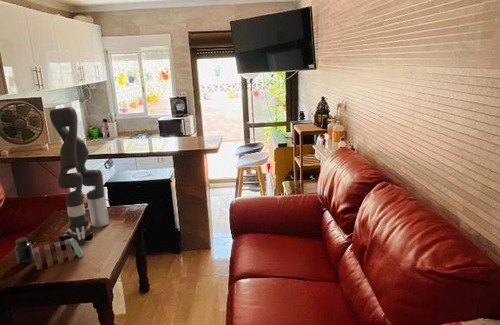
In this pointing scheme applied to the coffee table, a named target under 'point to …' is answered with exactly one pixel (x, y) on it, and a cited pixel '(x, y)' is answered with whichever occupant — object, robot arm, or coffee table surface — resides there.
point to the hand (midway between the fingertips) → (82, 245)
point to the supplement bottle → (24, 251)
